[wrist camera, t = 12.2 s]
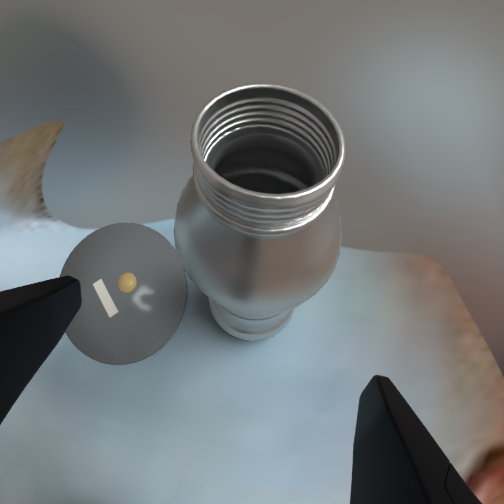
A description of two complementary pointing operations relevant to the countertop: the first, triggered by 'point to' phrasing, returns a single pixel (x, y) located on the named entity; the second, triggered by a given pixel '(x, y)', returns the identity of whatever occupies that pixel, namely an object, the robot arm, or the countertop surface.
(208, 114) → the silver bottle
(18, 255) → the countertop surface
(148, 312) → the round gray disc
